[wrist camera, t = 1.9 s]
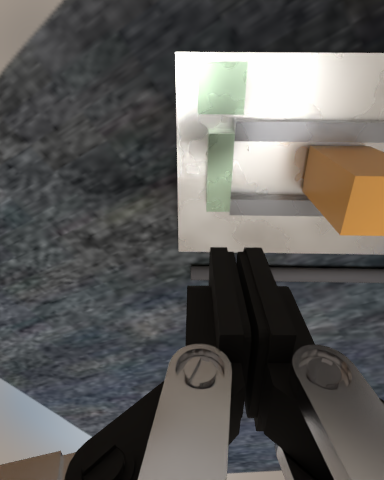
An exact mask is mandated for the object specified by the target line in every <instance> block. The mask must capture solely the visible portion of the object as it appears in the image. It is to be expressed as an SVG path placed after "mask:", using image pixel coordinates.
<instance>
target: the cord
mask: <svg viewBox="0 0 384 480" xmlns="http://www.w3.org/2000/svg"><path fill="white" fill-rule="evenodd" d="M270 270H271V272H272V275H273V277H274V280H275V281H288V282H353V283H384V269H351V268H283V267H270ZM191 280H209V266H191Z"/></svg>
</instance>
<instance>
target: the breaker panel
mask: <svg viewBox="0 0 384 480" xmlns="http://www.w3.org/2000/svg"><path fill="white" fill-rule="evenodd" d="M175 57H176V118H177V179H178V240H179V252H210V247H227V250H228V252H243V250H244V247H259V248H262V249H263V252H264V253H318V254H384V236H351V235H339V233H338V232H337V231H336V230H335V229H334V228H333V226H332V225H331V224H330V223H329V222H328V221H327V219H326V218H325V217H324V216H323V215H322V214H321V212H320V211H319V210H318V209H317V208H316V207H315V205H314V204H313V203H312V202H311V201H310V200H309V199H308V197H307V196H306V195H305V194H304V193H303V192H302V187H303V182H304V176H305V171H306V165H307V159H308V154H309V148H310V146H371V147H373V148H375V149H377V150H380V151H382V152H384V53H278V52H175Z"/></svg>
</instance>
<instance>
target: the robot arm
mask: <svg viewBox="0 0 384 480" xmlns="http://www.w3.org/2000/svg"><path fill="white" fill-rule="evenodd" d="M244 401H245V407H246V413H247V417H248V418H254V421H255V426H256V431H264V434H265V435H266V436H267V437H269V438H270V439H271V440H272V441H273V442H274V443H275V451H276V455H277V458H278V461H279V464H280V466H281V469H282V472H283V475H284V477H285V480H384V401H383V400H381V399H380V398H378V396H377V395H376V394H375V392H374V391H373V389H372V388H371V387H370V385H369V384H368V383H367V381H366V380H365V379H364V377H363V376H362V375H361V373H360V372H359V371H358V369H357V368H356V367H355V365H354V364H353V363H352V362H351V361H350V360H349V359H348V358H347V357H346V356H345V355H343V354H342V353H340V352H339V351H337V350H334V349H332V348H330V347H327V346H322V345H315V344H314V341H313V339H312V337H311V335H310V333H309V330H308V328H307V326H306V324H305V322H304V319H303V317H302V315H301V313H300V311H299V308H298V306H297V304H296V302H295V299H294V297H293V295H292V293H291V291H290V289H289V287H287V286H277V285H276V282H275V280H274V277H273V275H272V272H271V270H270V267H269V265H268V262H267V259H266V257H265V254H264V252H263V249H262V248H259V247H244V250H243V252H238V254H237V265H236V261H235V256H234V252H228V250H227V247H210V263H209V286H187V317H186V346H185V347H183V348H182V349H180V350H178V351H177V352H176V353H175V354H174V355H173V356H172V359H171V361H170V363H169V366H168V370H167V373H166V377H165V381H163V382H162V383H161V384H159V385H158V386H157V387H156V388H154V389H153V390H152V391H151V392H149V393H148V394H147V395H145V396H144V397H143V398H142V399H140V400H139V401H138V402H137V403H135V404H134V405H133V406H131V407H130V408H129V409H128V410H126V411H125V412H124V413H122V414H121V415H120V416H119V417H117V418H116V419H115V420H114V421H112V422H111V423H110V424H108V425H107V426H106V427H105V428H103V429H102V430H101V431H100V432H98V433H97V434H96V435H94V436H93V437H92V438H91V439H89V440H88V441H87V442H86V443H85V444H84V445H83V446H82V447H81V448H80V449H79V450H78V451H77V452H75V453H71V454H67V455H62V453H61V451H58V452H54V453H49V454H45V455H40V456H36V457H32V458H28V459H23V460H19V461H15V462H10V463H6V464H2V465H0V480H226V479H227V460H228V446H229V444H230V443H231V442H232V441H233V440H234V439H235V438H236V436H237V435H238V434H239V429H240V421H241V418H242V415H243V407H244Z"/></svg>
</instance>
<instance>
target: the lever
mask: <svg viewBox="0 0 384 480" xmlns="http://www.w3.org/2000/svg"><path fill="white" fill-rule="evenodd" d="M302 192H303V193H304V194H305V195H306V196H307V197H308V199H309V200H310V201H311V202H312V203H313V204H314V205H315V207H316V208H317V209H318V210H319V211H320V212H321V214H322V215H323V216H324V217H325V218H326V219H327V221H328V222H329V223H330V224H331V225H332V226H333V228H334V229H335V230H336V231H337V232H338V233H339V235H351V236H384V152H382V151H380V150H377V149H375V148H373V147H371V146H310V148H309V154H308V159H307V165H306V171H305V176H304V182H303V187H302Z"/></svg>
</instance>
